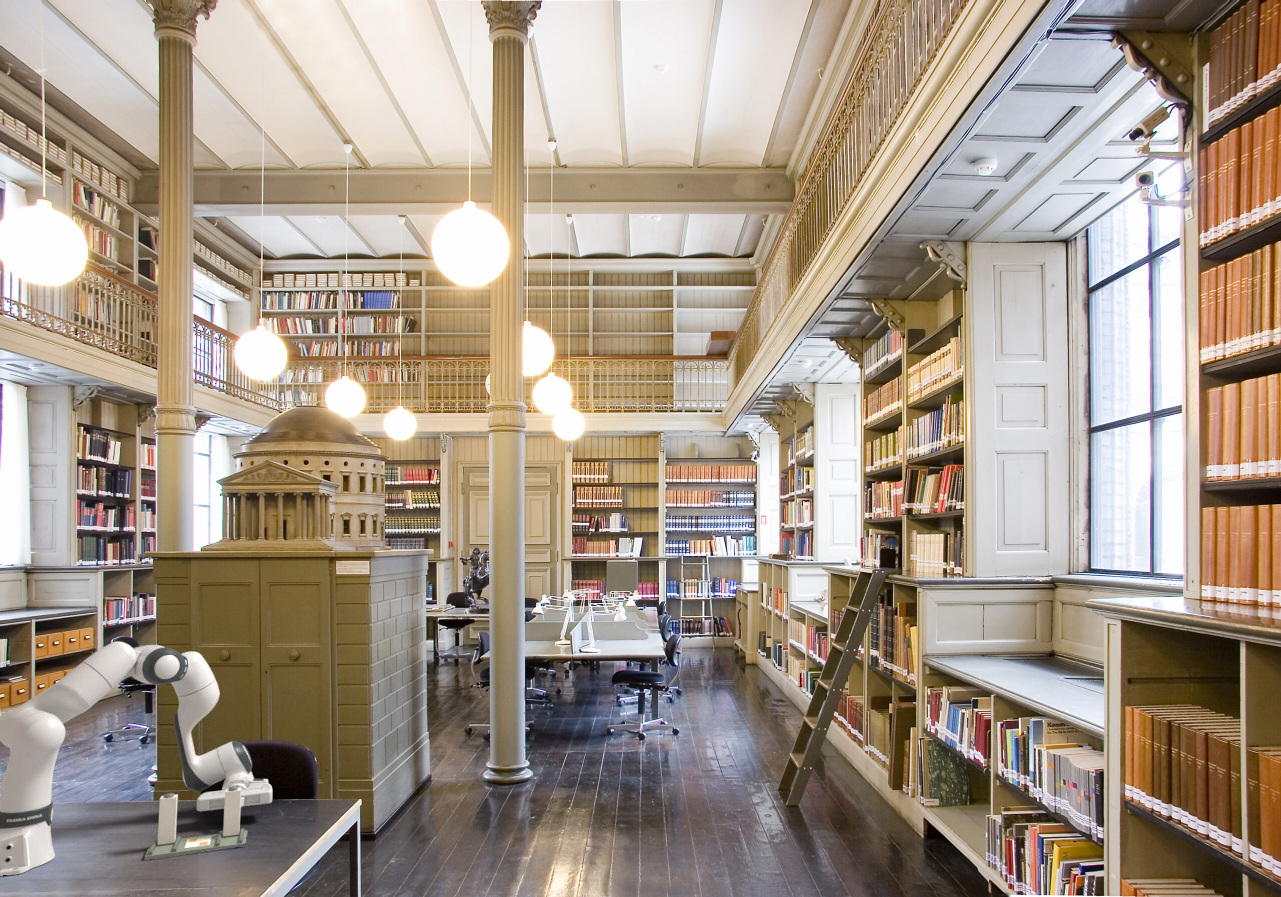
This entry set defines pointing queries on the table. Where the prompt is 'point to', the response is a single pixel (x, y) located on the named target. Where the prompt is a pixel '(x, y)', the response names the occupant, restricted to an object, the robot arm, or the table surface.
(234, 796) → the right switch
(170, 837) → the left switch
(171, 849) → the switch unit
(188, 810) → the table surface
